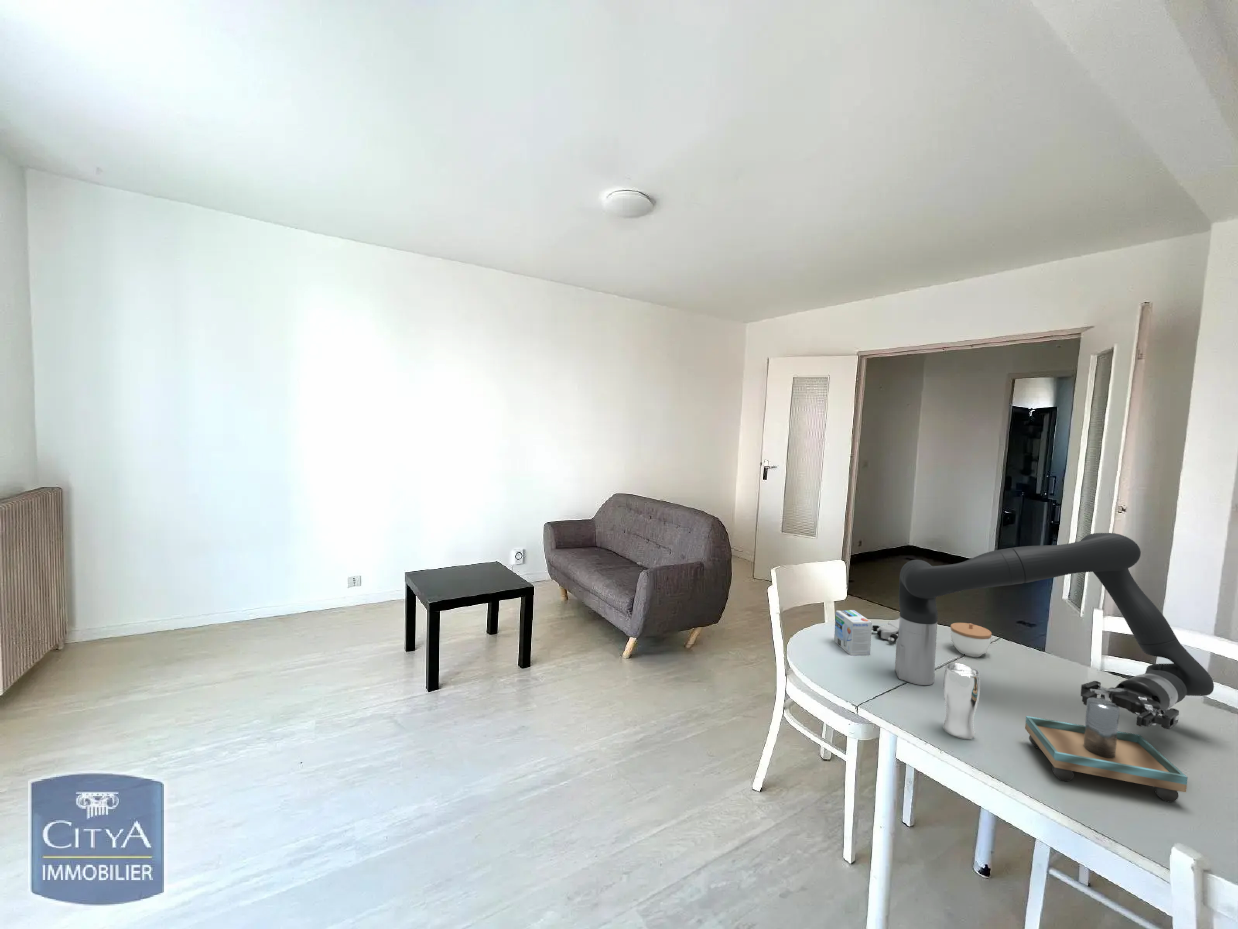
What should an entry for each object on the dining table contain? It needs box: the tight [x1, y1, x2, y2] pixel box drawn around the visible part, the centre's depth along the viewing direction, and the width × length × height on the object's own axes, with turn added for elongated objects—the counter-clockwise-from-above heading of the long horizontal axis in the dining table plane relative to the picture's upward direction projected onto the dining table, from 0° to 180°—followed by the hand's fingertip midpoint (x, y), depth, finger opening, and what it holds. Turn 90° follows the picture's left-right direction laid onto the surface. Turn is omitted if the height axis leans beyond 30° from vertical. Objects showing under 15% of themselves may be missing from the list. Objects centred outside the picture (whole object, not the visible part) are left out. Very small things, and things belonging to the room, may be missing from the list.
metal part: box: [1083, 697, 1121, 758], centre depth 104 cm, size 5×5×10 cm
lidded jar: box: [949, 622, 993, 658], centre depth 160 cm, size 11×11×9 cm
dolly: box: [1024, 715, 1188, 803], centre depth 104 cm, size 20×14×6 cm
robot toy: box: [871, 617, 900, 643], centre depth 172 cm, size 12×4×15 cm
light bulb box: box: [833, 609, 873, 656], centre depth 162 cm, size 11×7×11 cm, turn 5°
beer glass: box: [942, 662, 981, 741], centre depth 117 cm, size 7×7×15 cm
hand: (1111, 711), depth 105 cm, fingers open, 8 cm apart
